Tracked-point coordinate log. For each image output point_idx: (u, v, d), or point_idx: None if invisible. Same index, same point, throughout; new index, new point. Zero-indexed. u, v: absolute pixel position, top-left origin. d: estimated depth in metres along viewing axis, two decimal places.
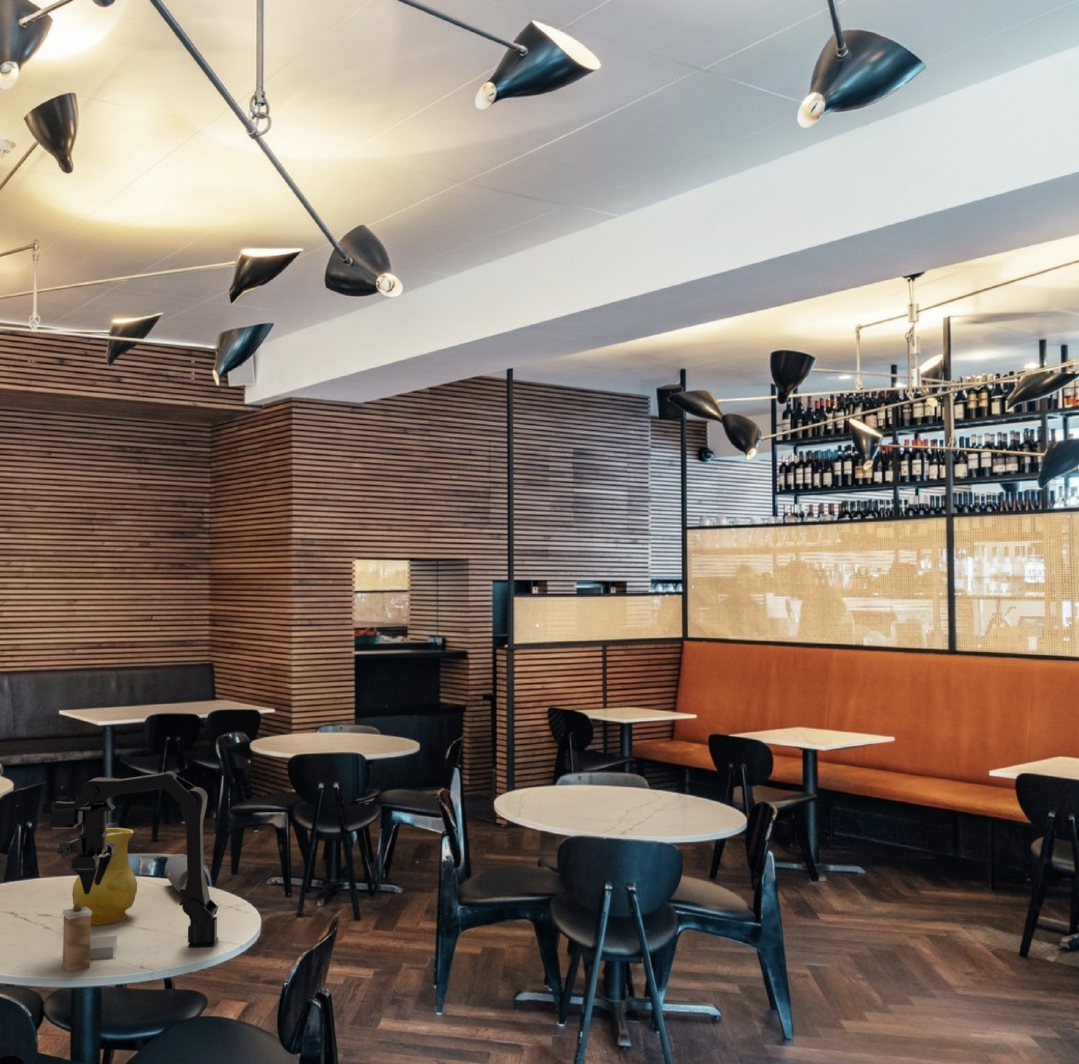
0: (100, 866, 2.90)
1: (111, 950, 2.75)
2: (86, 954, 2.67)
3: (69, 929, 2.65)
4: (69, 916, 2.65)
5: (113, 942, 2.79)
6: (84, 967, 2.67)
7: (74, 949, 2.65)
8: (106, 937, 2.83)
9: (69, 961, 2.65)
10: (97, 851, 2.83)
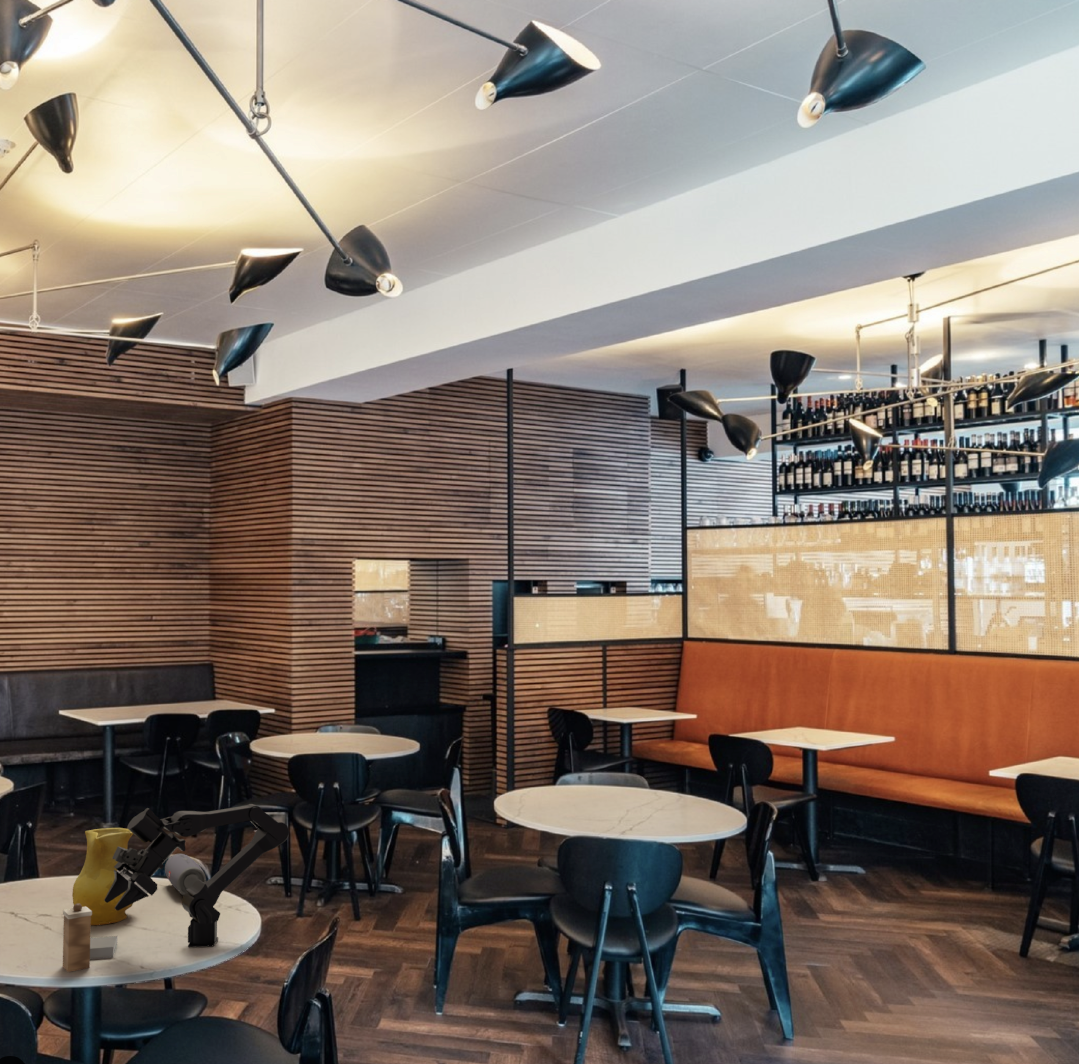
0: (120, 886, 2.80)
1: (111, 950, 2.75)
2: (86, 954, 2.67)
3: (69, 929, 2.65)
4: (69, 916, 2.65)
5: (113, 942, 2.79)
6: (84, 967, 2.67)
7: (74, 949, 2.65)
8: (107, 937, 2.83)
9: (69, 961, 2.65)
10: None
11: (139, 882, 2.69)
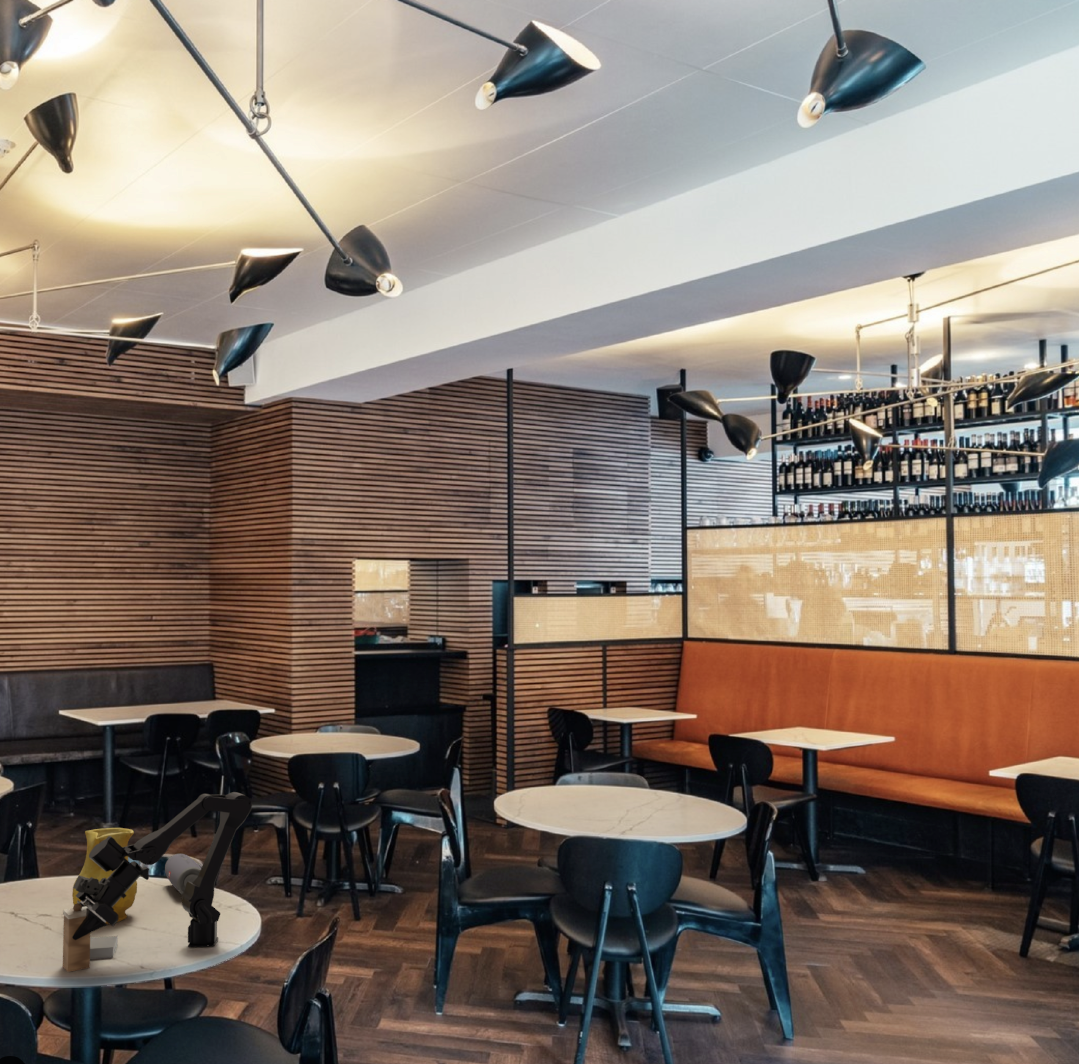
0: None
1: (111, 950, 2.75)
2: (86, 954, 2.67)
3: (69, 929, 2.65)
4: (69, 916, 2.65)
5: (113, 942, 2.79)
6: (84, 967, 2.67)
7: (74, 949, 2.65)
8: (107, 937, 2.83)
9: (69, 961, 2.65)
10: (109, 907, 2.71)
11: (99, 913, 2.63)
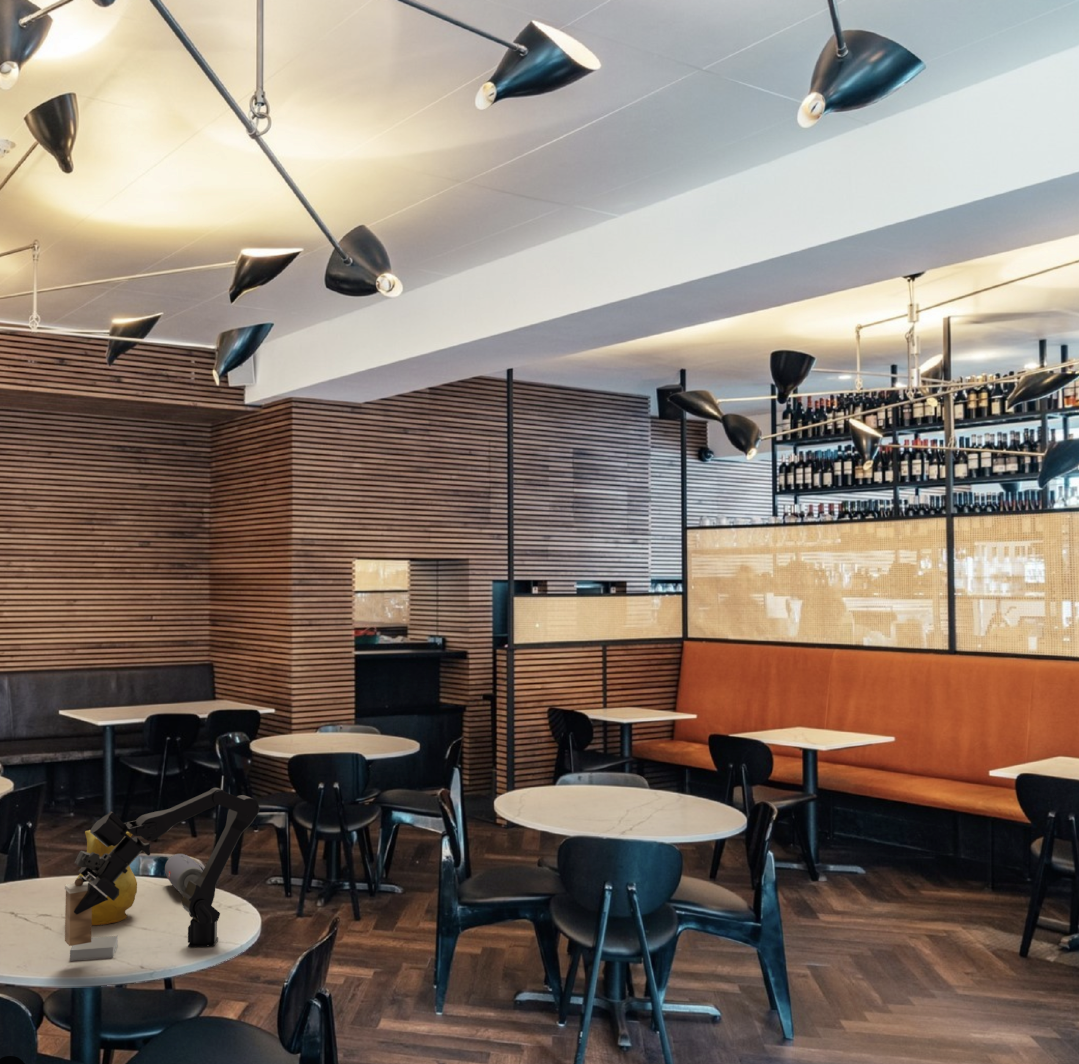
0: None
1: (111, 950, 2.75)
2: (87, 928, 2.68)
3: (70, 903, 2.66)
4: (70, 890, 2.66)
5: (113, 942, 2.79)
6: (86, 941, 2.68)
7: (75, 923, 2.67)
8: (107, 937, 2.83)
9: (71, 935, 2.66)
10: (111, 882, 2.72)
11: (100, 887, 2.64)
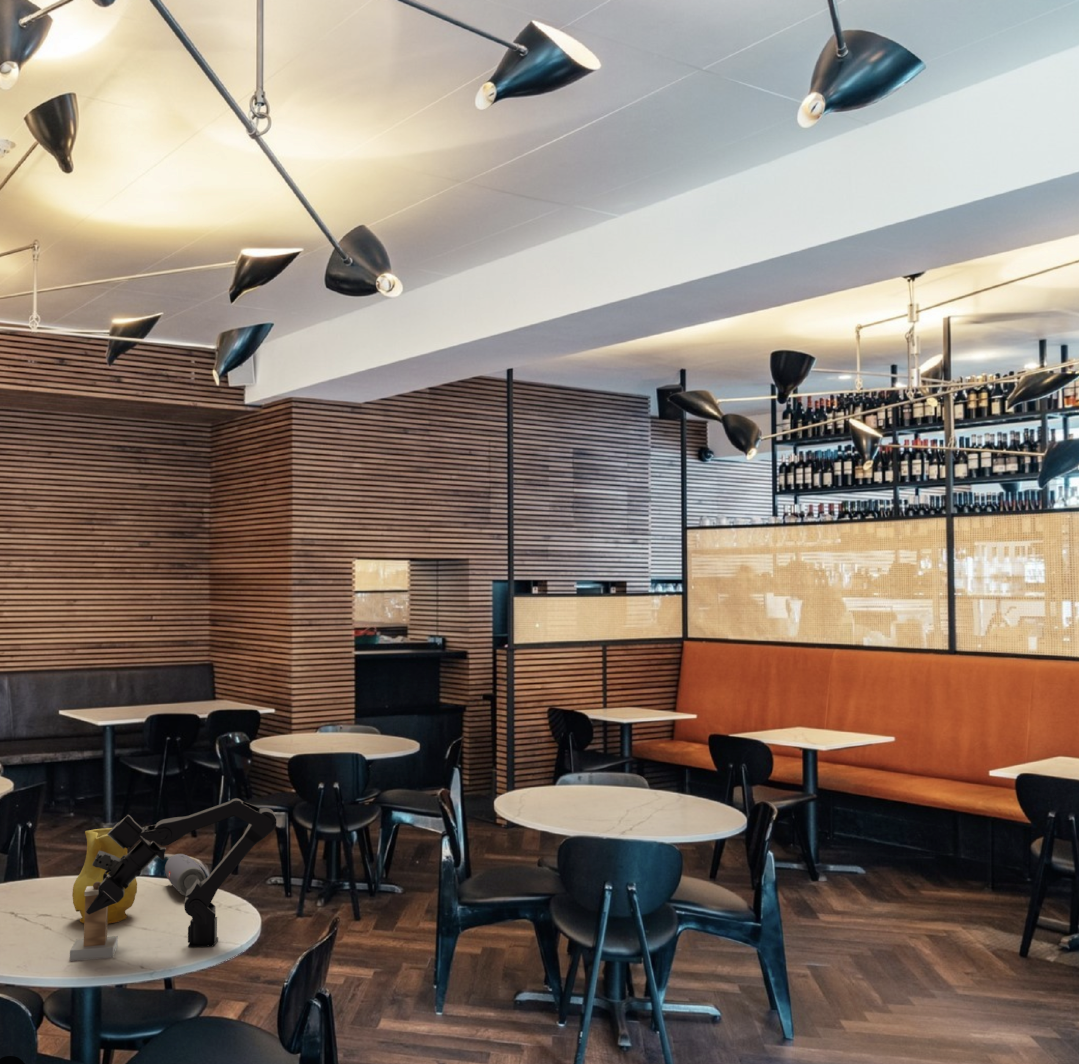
0: None
1: (111, 950, 2.75)
2: (101, 931, 2.77)
3: (85, 905, 2.77)
4: (85, 893, 2.77)
5: (113, 943, 2.79)
6: (100, 943, 2.77)
7: (90, 925, 2.77)
8: (107, 938, 2.83)
9: (85, 936, 2.76)
10: (124, 883, 2.80)
11: (103, 888, 2.72)
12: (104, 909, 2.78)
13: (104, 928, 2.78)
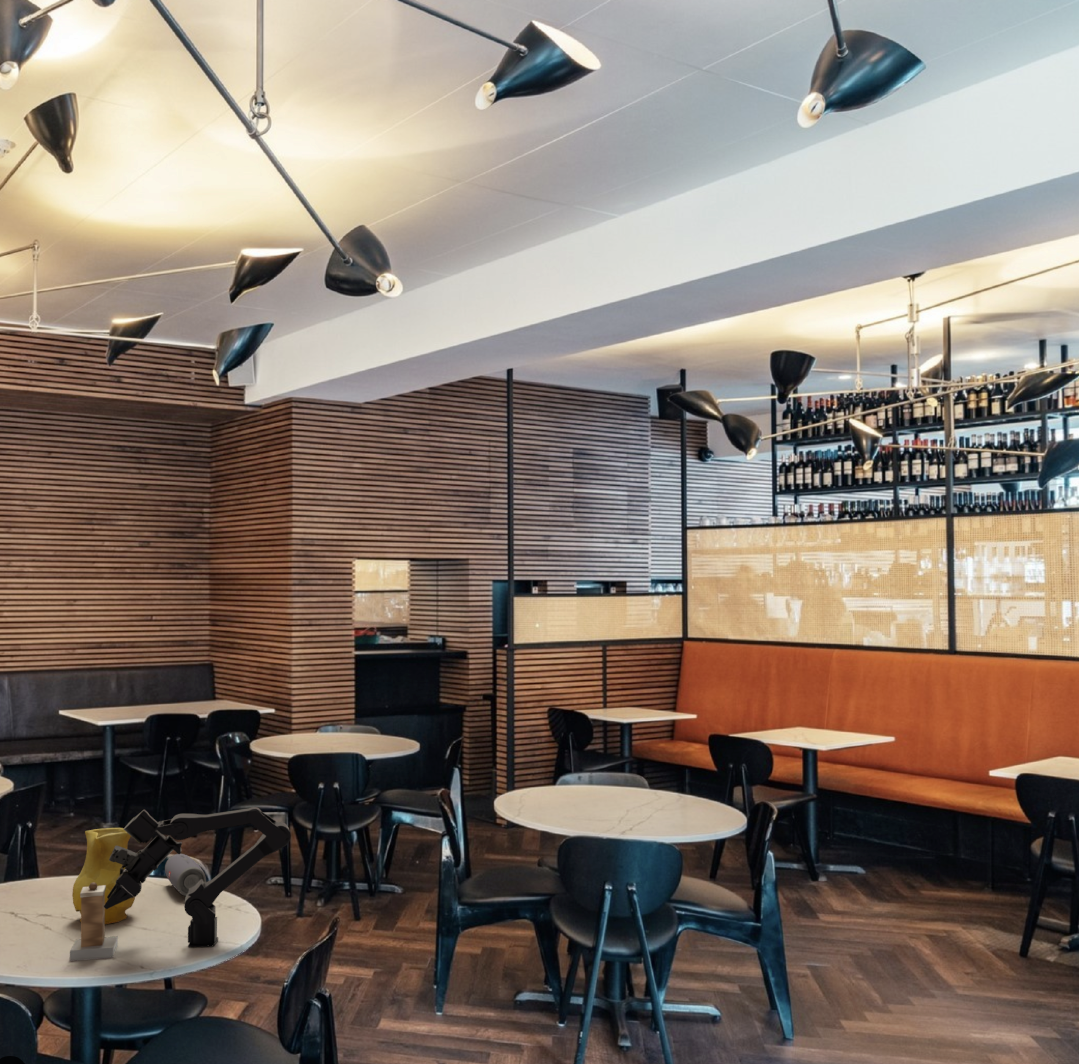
0: None
1: (111, 951, 2.75)
2: (98, 932, 2.77)
3: (82, 907, 2.76)
4: (81, 894, 2.76)
5: (113, 943, 2.79)
6: (97, 944, 2.77)
7: (87, 926, 2.76)
8: (107, 938, 2.83)
9: (82, 937, 2.76)
10: (141, 878, 2.81)
11: (121, 883, 2.73)
12: (100, 910, 2.77)
13: (101, 929, 2.77)
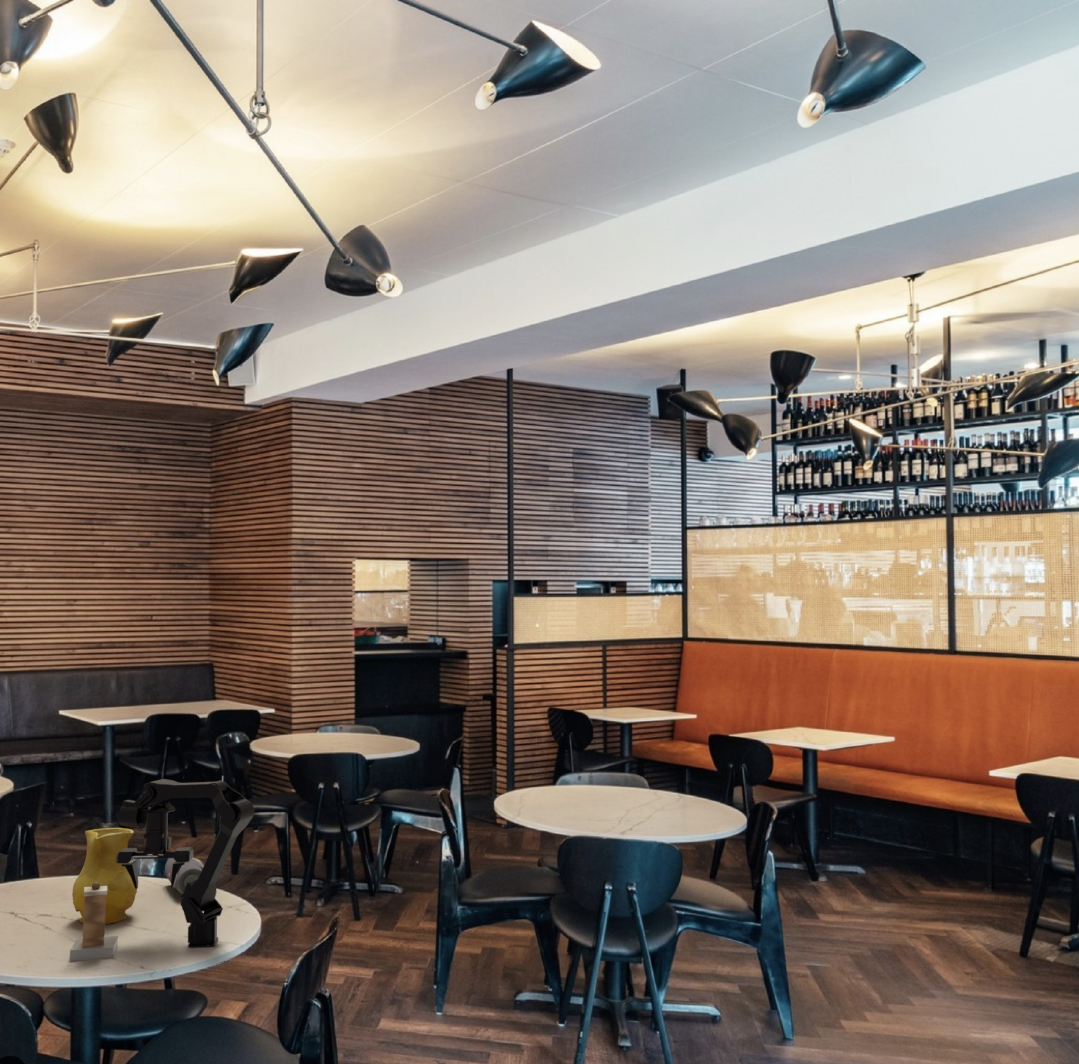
0: None
1: (111, 950, 2.75)
2: (100, 932, 2.77)
3: (85, 906, 2.76)
4: (85, 893, 2.76)
5: (113, 942, 2.79)
6: (99, 944, 2.77)
7: (89, 925, 2.76)
8: (107, 937, 2.83)
9: (84, 937, 2.75)
10: None
11: None
12: (103, 909, 2.78)
13: (103, 928, 2.77)
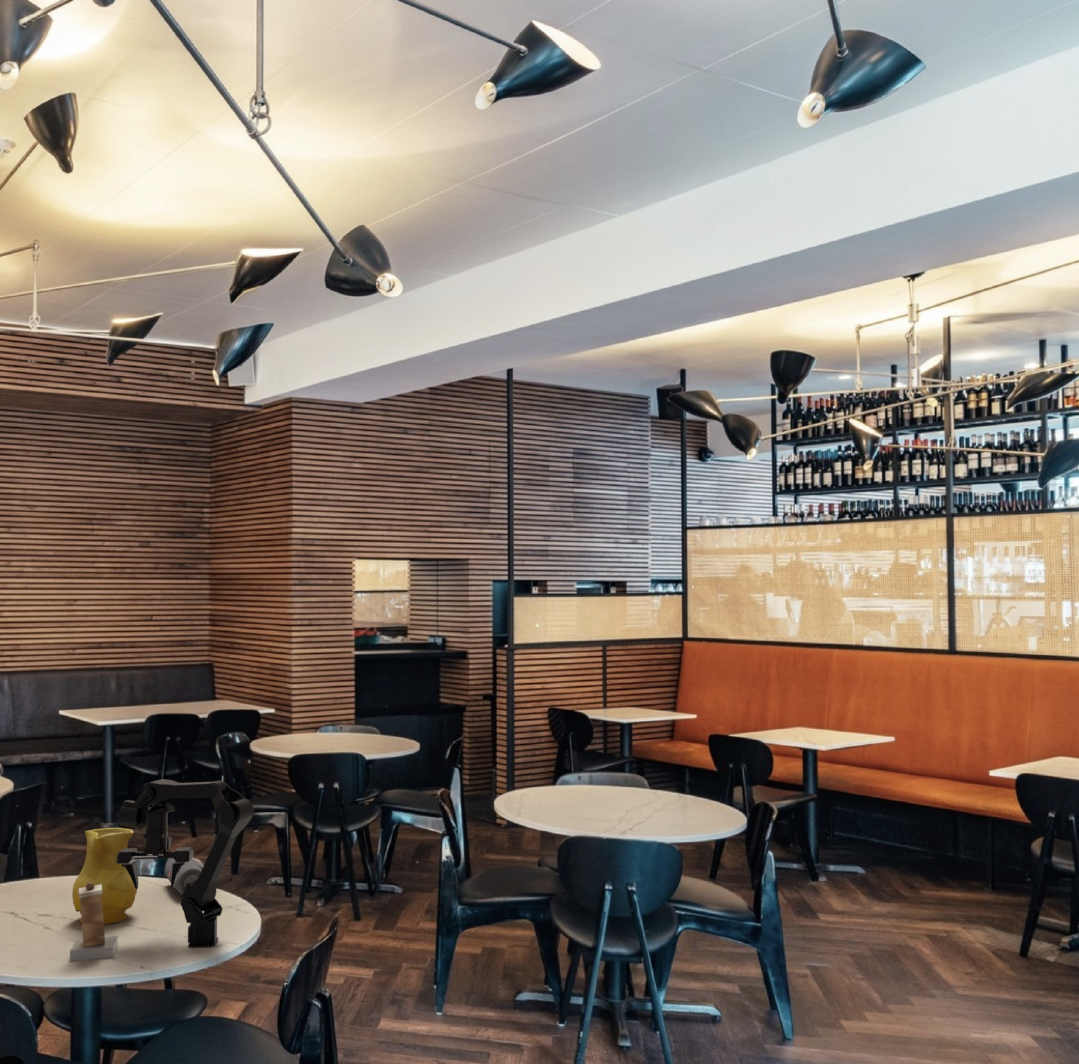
0: None
1: (111, 950, 2.75)
2: (100, 930, 2.77)
3: (81, 907, 2.75)
4: (80, 895, 2.75)
5: (113, 942, 2.79)
6: (100, 942, 2.77)
7: (88, 925, 2.76)
8: (107, 937, 2.83)
9: (84, 937, 2.75)
10: None
11: None
12: (100, 908, 2.77)
13: (102, 927, 2.77)
